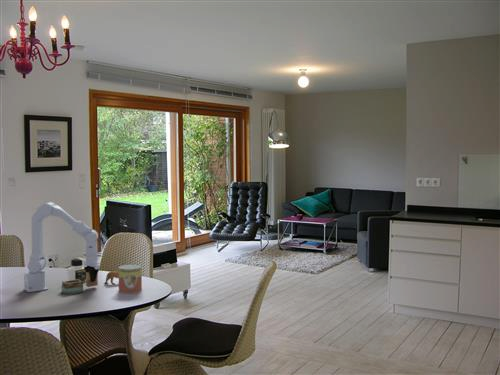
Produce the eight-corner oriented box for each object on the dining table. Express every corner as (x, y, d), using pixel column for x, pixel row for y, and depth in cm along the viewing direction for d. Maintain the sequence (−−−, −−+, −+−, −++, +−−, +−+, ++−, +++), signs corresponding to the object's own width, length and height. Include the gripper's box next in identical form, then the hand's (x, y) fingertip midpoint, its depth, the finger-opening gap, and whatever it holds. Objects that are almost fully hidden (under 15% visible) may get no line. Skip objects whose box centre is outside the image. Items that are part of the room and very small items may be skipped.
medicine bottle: (75, 283, 269) (75, 260, 269) (67, 281, 274) (67, 259, 273) (87, 280, 275) (86, 258, 274) (79, 279, 279) (78, 257, 279)
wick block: (88, 286, 257) (88, 273, 257) (86, 285, 259) (86, 272, 259) (97, 285, 260) (97, 271, 260) (95, 284, 262) (95, 270, 262)
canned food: (118, 294, 249) (118, 269, 248) (118, 288, 260) (118, 265, 259) (142, 292, 252) (142, 268, 251) (141, 287, 263) (141, 263, 262)
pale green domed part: (66, 295, 246) (66, 290, 246) (58, 291, 254) (58, 286, 254) (86, 291, 253) (86, 286, 253) (78, 287, 260) (78, 283, 260)
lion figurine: (127, 280, 277) (127, 263, 277) (132, 282, 273) (132, 265, 273) (101, 284, 268) (101, 267, 267) (106, 286, 264) (106, 269, 263)
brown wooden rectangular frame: (66, 288, 248) (66, 283, 248) (62, 286, 253) (62, 281, 253) (82, 286, 254) (82, 281, 254) (78, 284, 258) (78, 279, 258)
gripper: (105, 255, 256) (105, 282, 257) (93, 251, 267) (93, 277, 268) (91, 257, 251) (91, 284, 252) (80, 252, 262) (80, 279, 263)
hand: (91, 281), depth 260 cm, fingers closed on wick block, 2 cm apart
